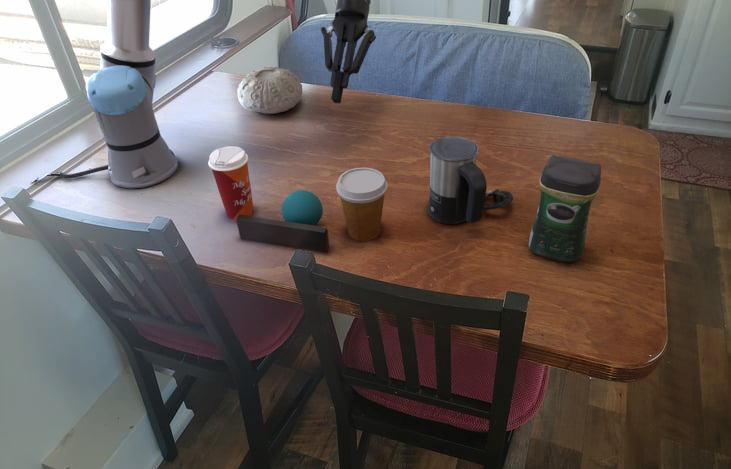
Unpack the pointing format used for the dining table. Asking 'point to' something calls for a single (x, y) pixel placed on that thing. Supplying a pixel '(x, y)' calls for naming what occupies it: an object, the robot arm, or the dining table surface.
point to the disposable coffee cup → (362, 201)
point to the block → (283, 233)
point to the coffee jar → (564, 208)
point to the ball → (302, 208)
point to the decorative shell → (269, 90)
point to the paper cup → (232, 180)
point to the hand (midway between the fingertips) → (335, 101)
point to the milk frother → (459, 183)
